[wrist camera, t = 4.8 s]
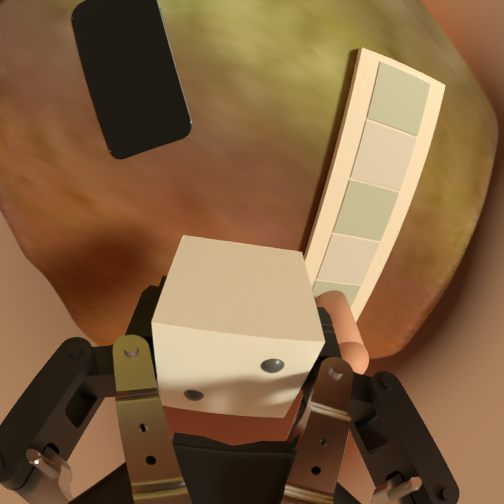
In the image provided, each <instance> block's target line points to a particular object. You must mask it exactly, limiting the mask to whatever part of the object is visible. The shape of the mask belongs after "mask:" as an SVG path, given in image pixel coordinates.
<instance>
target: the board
mask: <svg viewBox="0 0 504 504" xmlns="http://www.w3.org/2000/svg"><path fill="white" fill-rule="evenodd" d="M444 89H445V85H444V84H442V83H440V82H438V81H437V80H435V79H433V78H431V77H429V76H427V75H425V74H423V73H421V72H419V71H417V70H415V69H413V68H410V67H408V66H406V65H404V64H402V63H399V62H397V61H395V60H393V59H390V58H388V57H385V56H383V55H380V54H378V53H375V52H373V51H370V50H367V49H365V48H359V49H358V53H357V58H356V63H355V67H354V72H353V76H352V81H351V85H350V90H349V94H348V98H347V102H346V107H345V111H344V115H343V119H342V123H341V127H340V131H339V135H338V139H337V143H336V146H335V150H334V154H333V158H332V161H331V165H330V169H329V173H328V176H327V180H326V183H325V187H324V190H323V194H322V197H321V201H320V204H319V208H318V211H317V215H316V218H315V221H314V225H313V228H312V231H311V235H310V238H309V241H308V244H307V247H306V251H305V254H304V257H303V258H304V261H305V265H306V269H307V272H308V276H309V280H310V284H311V287H312V291H313V295H314V296H315V299H316V301H317V299H318V298H319V296H321V295H322V294H323V293H325V292H328V291H332V290H337V291H341V292H342V293H344V294H345V296H346V299H347V301H348V304H349V306H350V309H351V312H352V314H353V317H354V320H355V322H356V321H357V319H358V318H359V316H360V314H361V312H362V310H363V308H364V306H365V304H366V302H367V300H368V298H369V296H370V294H371V292H372V290H373V288H374V286H375V284H376V282H377V280H378V278H379V276H380V274H381V272H382V269H383V267H384V265H385V263H386V261H387V259H388V256H389V254H390V252H391V250H392V247H393V245H394V243H395V240H396V238H397V236H398V233H399V231H400V228H401V226H402V223H403V221H404V218H405V216H406V213H407V211H408V208H409V206H410V203H411V200H412V198H413V195H414V192H415V189H416V186H417V184H418V181H419V178H420V175H421V172H422V169H423V166H424V163H425V160H426V157H427V153H428V150H429V147H430V143H431V140H432V137H433V133H434V130H435V126H436V122H437V118H438V114H439V111H440V106H441V102H442V98H443V94H444Z"/></svg>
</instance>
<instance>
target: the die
mask: <svg viewBox="0 0 504 504" xmlns="http://www.w3.org/2000/svg"><path fill="white" fill-rule="evenodd" d="M151 323H152V334H153V344H154V353H155V362H156V370H157V378H158V385H159V392H160V398H161V403H162V405H164V406H169V407H175V408H182V409H188V410H195V411H203V412H210V413H220V414H230V415H241V416H256V417H257V416H258V417H279V418H284V416H285V415H286V413H287V411H288V410H289V408H290V406H291V404H292V403H293V401H294V399H295V397H296V396H297V394H298V392H299V390H300V389H301V387H302V385H303V383H304V381H305V380H306V378H307V376H308V374H309V372H310V370H311V369H312V367H313V365H314V363H315V361H316V359H317V357H318V355H319V353H320V351H321V349H322V347H323V345H324V343H325V339H324V335H323V331H322V326H321V322H320V318H319V314H318V310H317V307H316V303H315V299H314V295H313V291H312V287H311V284H310V280H309V276H308V272H307V269H306V265H305V261H304V258H303V254H302V252H298V251H292V250H285V249H278V248H271V247H264V246H257V245H250V244H243V243H236V242H228V241H221V240H214V239H207V238H200V237H193V236H185V235H183V237H182V239H181V242H180V244H179V247H178V249H177V252H176V255H175V257H174V260H173V263H172V265H171V268H170V271H169V273H168V276H167V279H166V281H165V284H164V287H163V290H162V293H161V295H160V298H159V301H158V304H157V307H156V310H155V313H154V316H153V319H152V322H151Z"/></svg>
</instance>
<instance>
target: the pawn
mask: <svg viewBox="0 0 504 504" xmlns="http://www.w3.org/2000/svg"><path fill="white" fill-rule="evenodd" d="M316 303H317V307H324V308H325V310H326V311H327V312H328V313H329V315H330V317H331V320H332V323H333V327H334V330H335V334H336V338H337V341H338V345H339V348H340V352H341V356H342V359H343V360H345V361H346V362H348V363H349V364H350V366H351V367H352V369H353V371H354V372H356V373H359V374H363V373H364V372H365V370H366V369H367V366H368V363H369V356H368V352H367V350H366V349H365V347H364V345H363V342H362V339H361V336H360V333H359V331H358V328H357V325H356V322H355V320H354V317H353V314H352V312H351V309H350V306H349V304H348V301H347V299H346V296H345V294H344V293H342V292H341V291H337V290H332V291H328V292H325V293H323V294H322V295H321V296H319V298H318V299H317V301H316Z"/></svg>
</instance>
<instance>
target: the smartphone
mask: <svg viewBox="0 0 504 504" xmlns="http://www.w3.org/2000/svg"><path fill="white" fill-rule="evenodd" d="M72 22H73V27H74V31H75V36H76V40H77V44H78V48H79V53H80V56H81V60H82V64H83V68H84V72H85V75H86V79H87V82H88V86H89V89H90V93H91V96H92V99H93V102H94V106H95V109H96V112H97V115H98V118H99V121H100V124H101V127H102V130H103V133H104V136H105V139H106V142H107V144H108V147H109V150H110V152H111V154H112V155H113V156H114V157H116V158H118V159H125V158H127V157H130V156H133V155H135V154H138V153H141V152H144V151H147V150H150V149H153V148H155V147H158V146H161V145H164V144H168V143H171V142H174V141H177V140H180V139H183V138H185V137H186V136H188V135H189V133H190V132H191V130H192V120H191V117H190V114H189V110H188V107H187V103H186V100H185V97H184V93H183V90H182V86H181V83H180V79H179V76H178V72H177V69H176V65H175V62H174V58H173V55H172V51H171V48H170V44H169V40H168V37H167V33H166V29H165V23H164V20H163V16H162V12H161V9H160V7H159V4H158V0H85V1H84V2H82V3H80V4H79V5H78V6H77V7H76V8H75V9H74V11H73V13H72Z"/></svg>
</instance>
